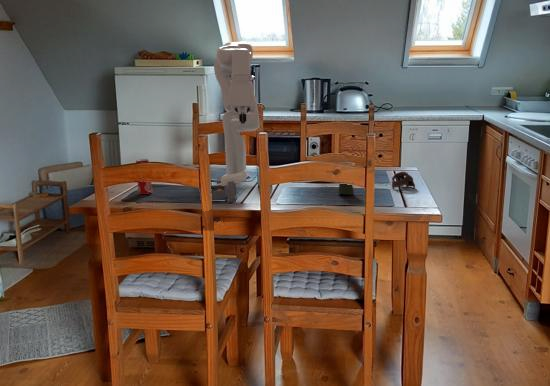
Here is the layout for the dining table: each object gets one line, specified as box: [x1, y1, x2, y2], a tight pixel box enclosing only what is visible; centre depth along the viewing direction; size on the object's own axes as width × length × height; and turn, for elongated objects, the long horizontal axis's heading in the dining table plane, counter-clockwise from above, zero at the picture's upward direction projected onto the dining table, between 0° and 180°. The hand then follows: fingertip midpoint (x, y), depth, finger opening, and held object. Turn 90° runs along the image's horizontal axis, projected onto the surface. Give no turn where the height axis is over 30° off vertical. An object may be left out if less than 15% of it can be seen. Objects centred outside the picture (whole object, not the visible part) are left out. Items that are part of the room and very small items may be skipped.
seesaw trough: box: [216, 168, 249, 186], centre depth 241 cm, size 13×13×3 cm
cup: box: [211, 180, 228, 200], centre depth 239 cm, size 9×7×8 cm
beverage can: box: [135, 158, 153, 195], centre depth 250 cm, size 6×6×15 cm
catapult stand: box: [226, 181, 239, 203], centre depth 239 cm, size 14×4×8 cm, turn 1°
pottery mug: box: [391, 171, 416, 190], centre depth 251 cm, size 12×9×8 cm
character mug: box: [338, 161, 356, 196], centre depth 241 cm, size 11×7×13 cm, turn 172°
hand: (242, 123), depth 248 cm, fingers closed
